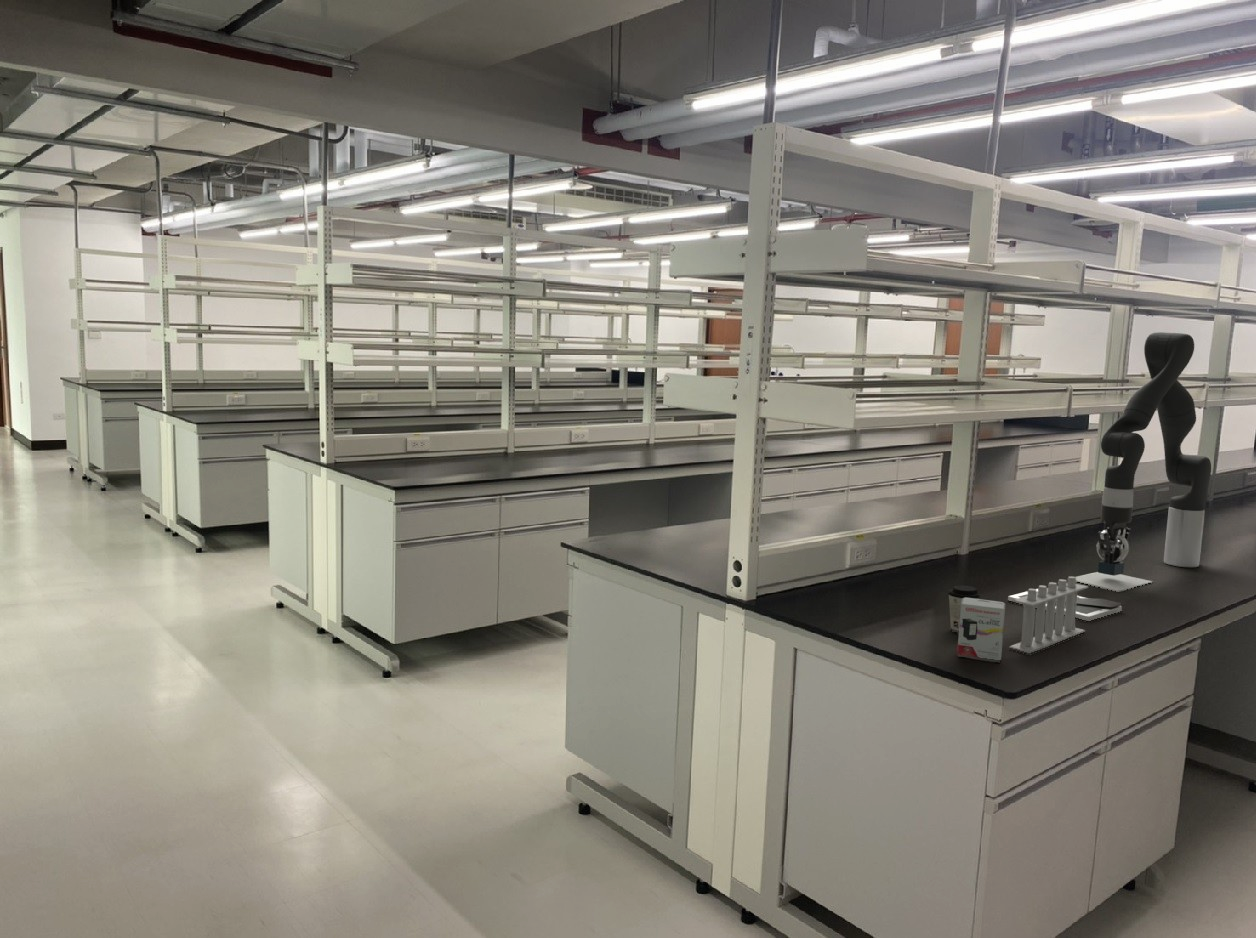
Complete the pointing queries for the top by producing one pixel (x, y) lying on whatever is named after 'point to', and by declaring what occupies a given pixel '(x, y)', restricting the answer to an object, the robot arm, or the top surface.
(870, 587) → the top surface
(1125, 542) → the watch
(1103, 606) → the picture frame
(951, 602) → the coffee cup
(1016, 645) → the test tube rack
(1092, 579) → the mat
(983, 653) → the ink box
